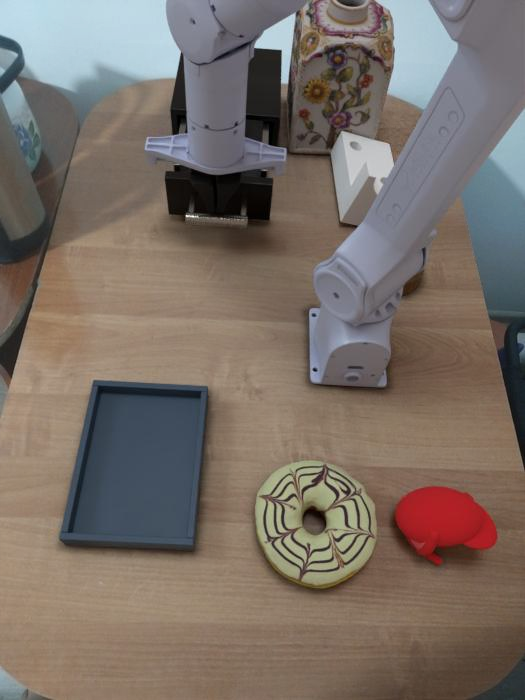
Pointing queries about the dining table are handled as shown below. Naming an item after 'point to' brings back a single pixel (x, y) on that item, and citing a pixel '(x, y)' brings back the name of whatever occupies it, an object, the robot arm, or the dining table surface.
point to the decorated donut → (340, 514)
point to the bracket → (359, 174)
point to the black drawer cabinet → (260, 92)
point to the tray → (138, 467)
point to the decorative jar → (338, 72)
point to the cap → (443, 521)
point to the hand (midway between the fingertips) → (216, 212)
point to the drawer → (241, 206)
